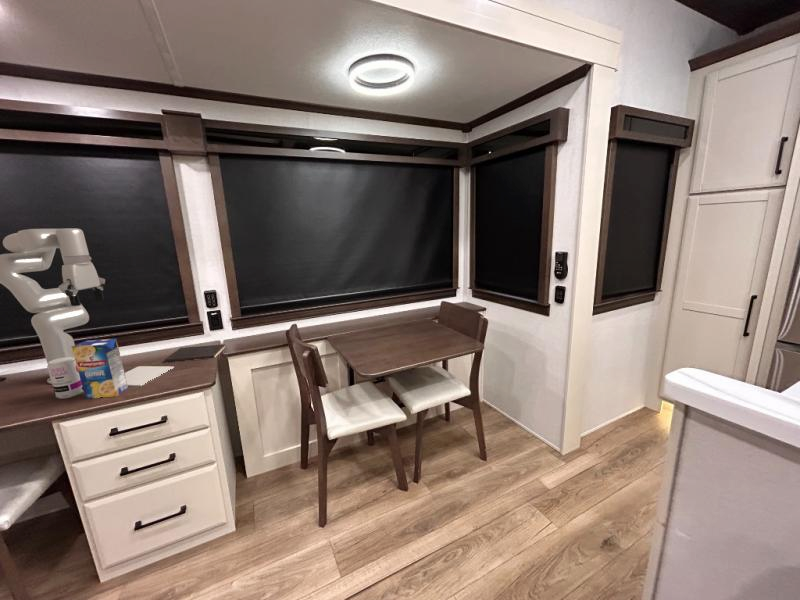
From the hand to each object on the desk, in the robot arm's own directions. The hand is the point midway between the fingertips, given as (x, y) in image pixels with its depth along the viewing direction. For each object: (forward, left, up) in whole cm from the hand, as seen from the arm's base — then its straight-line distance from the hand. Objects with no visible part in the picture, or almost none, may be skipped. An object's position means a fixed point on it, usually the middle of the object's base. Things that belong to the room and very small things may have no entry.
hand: (88, 302), depth 126 cm
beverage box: (+6, -7, -37) cm, 38 cm away
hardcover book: (+15, +33, -37) cm, 52 cm away
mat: (+6, +8, -37) cm, 38 cm away
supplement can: (-9, -8, -37) cm, 38 cm away
